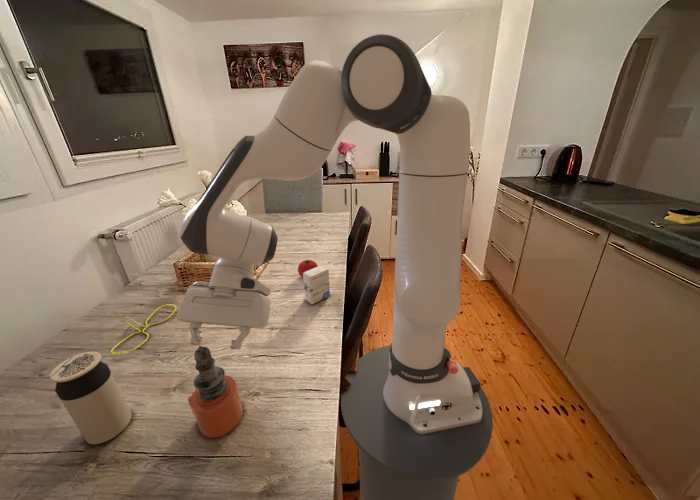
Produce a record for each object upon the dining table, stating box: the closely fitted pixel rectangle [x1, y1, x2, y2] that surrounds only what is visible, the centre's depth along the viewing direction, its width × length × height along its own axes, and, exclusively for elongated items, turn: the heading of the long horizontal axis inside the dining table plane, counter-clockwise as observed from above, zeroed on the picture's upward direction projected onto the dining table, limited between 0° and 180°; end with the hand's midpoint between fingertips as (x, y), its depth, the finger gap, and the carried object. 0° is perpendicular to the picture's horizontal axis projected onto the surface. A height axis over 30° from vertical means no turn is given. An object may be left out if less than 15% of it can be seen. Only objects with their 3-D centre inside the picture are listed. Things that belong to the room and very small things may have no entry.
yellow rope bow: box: [110, 303, 178, 356], centre depth 91 cm, size 25×10×5 cm, turn 178°
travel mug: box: [49, 351, 132, 445], centre depth 58 cm, size 8×8×18 cm
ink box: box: [302, 265, 331, 305], centre depth 104 cm, size 9×5×12 cm, turn 132°
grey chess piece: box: [193, 345, 227, 401], centre depth 57 cm, size 6×6×12 cm
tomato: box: [297, 259, 319, 278], centre depth 121 cm, size 9×9×8 cm
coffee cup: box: [187, 374, 244, 439], centre depth 61 cm, size 10×9×9 cm
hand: (214, 347), depth 59 cm, fingers open, 8 cm apart
